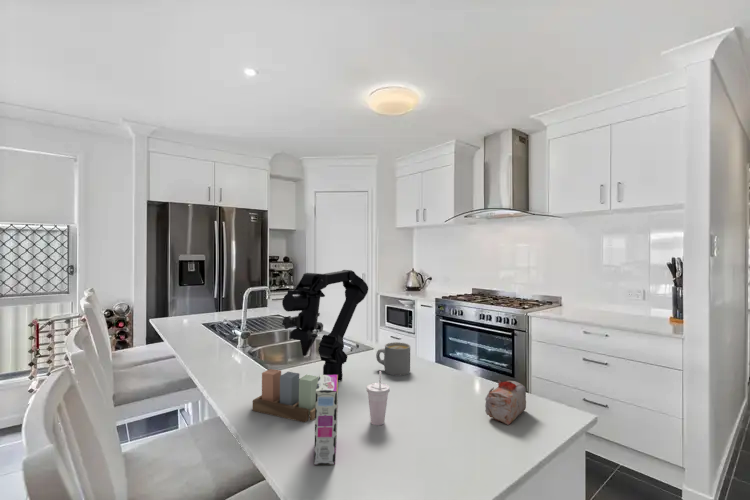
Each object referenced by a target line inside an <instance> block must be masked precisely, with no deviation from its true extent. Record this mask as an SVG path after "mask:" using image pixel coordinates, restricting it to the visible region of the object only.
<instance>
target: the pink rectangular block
mask: <svg viewBox="0 0 750 500" xmlns="http://www.w3.org/2000/svg"><path fill="white" fill-rule="evenodd" d="M281 375H282V370H280V369H274V368H269V369H267V370H266V371H265V370H264V371H263V372H262V373H261V395H262V400H266V401H271V402H275V401H276V400H278V399H279V398H280V376H281Z"/></svg>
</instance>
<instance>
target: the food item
mask: <svg viewBox="0 0 750 500" xmlns="http://www.w3.org/2000/svg"><path fill="white" fill-rule="evenodd" d="M497 382H498V384H497V386H498V387H496V388H495V387H492V388H491V389H489V391H488V393H487V395H486V396H485V398H484V400H485V414H486V416H489V418H491V419H494V420H495V421H498V422H500V423H502V424H505V425H508V426H509V425H510V424H511V423H513V422H514V421H515V420H516V418H518V417H519V416H520V415H521V414H522V413H524V411H526V409H527V398H526V397H527V395H526V392H527V390H526V386H524V385H523V384H522V383H520V382H518V381H515V380H506V381H501V380H500V379H498V381H497Z"/></svg>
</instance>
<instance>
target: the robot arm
mask: <svg viewBox="0 0 750 500" xmlns="http://www.w3.org/2000/svg"><path fill="white" fill-rule="evenodd" d="M338 283H342V286H343V288H344V289H345V291H344V295H345V300H344V303H343V305H342V307H341V309H340V311H339V313H338V316H337V318H336V320H335V323H334V325H333V326H332V328H331V331H330V333H329V334H323V335H322V337H321V340H320V342H319V343H318V349H317V350H318V351H317V352H318V355H319V357H320V361H322V362H323V361H324V364H323V366H322V375H338V382H339V381H340V382H342V381H343V365H344V364H345V363H347V360H348V355H347V354H346V352H345V351H344V347H345V343H344V336H345V334H346V332H347V330H348V327H349V325H350V322H351V321H352V318H353V315H354V314H355V311H356V309H357V306H358V304H360V303H361V302H363V300H365V298H366V296H367V294H368V292H369V285H368V284H367V282H366V281H365V280H364V279H363V278H361V277H360V276H358V275H357V274H356V273H355V271H353V269H352V270H351V269H343V270H338V271H334V272H333V271H332V272H326V273H313V272H305V273H303V275H302V277H301V279H300V280H299V282H298V283H297V285H296V287H295V288H294V290H293V289H287V293H286V294H285V295H284V296H283V299H282V301H281V303H282V307H283V309H284V311H285V312H299V313H298V315H295V316H291V315H288V316H285V317H284V318H283V319H282V323H281V325H282V326H283V327H284V329H285V330H288V329H289V328H293V327H296V328H294V329H292V330H291V331H290V332H289V339H290V340H296V341H300V347H301V348H300V349H301V354H302V356H303V357H307V355H308V353H309V351H310V350H311V347H313V344H314V342H315V341H316V339H317V337H318V336H319V334H318V333H315V331H317V330H318V332H319V333H321V332H323V331H324V324H323V323H322V322H319V321H318V319H319V317H320V315H321V313H320V311H319V310H320V304H321V303H320V301H321V298H324V297H326V295H325V293H324V292H323V289H325V288H327V286H330V285H332V284H333V285H334V284H338Z"/></svg>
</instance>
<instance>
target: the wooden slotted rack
mask: <svg viewBox="0 0 750 500" xmlns="http://www.w3.org/2000/svg"><path fill="white" fill-rule="evenodd" d="M252 411H253V412H256V413H260V414H265V415H270V416H274V417H279V418H282V419H283V418H284V419H288V420H293V421H296V422H301V423H307V422H308V421H311V422H312V421H315V408H314V409H312V410H311V411H310V416H309V409H305V408H301V407H299V402H297V403H296V404H294V405H293V406H291V405H286V404H281V403H280V398H279V399H278V400H276V401H275V402H271V401H266V400H262V394H261V395H260V396H257V397H256V398H254V399H253V400H252Z"/></svg>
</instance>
